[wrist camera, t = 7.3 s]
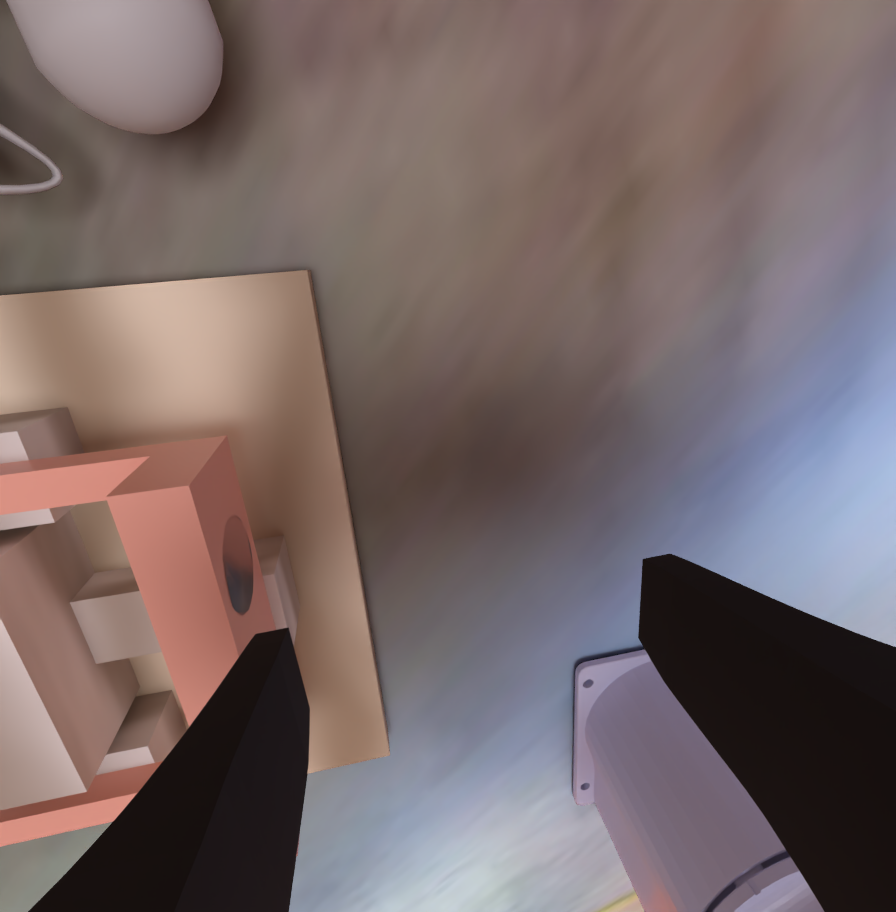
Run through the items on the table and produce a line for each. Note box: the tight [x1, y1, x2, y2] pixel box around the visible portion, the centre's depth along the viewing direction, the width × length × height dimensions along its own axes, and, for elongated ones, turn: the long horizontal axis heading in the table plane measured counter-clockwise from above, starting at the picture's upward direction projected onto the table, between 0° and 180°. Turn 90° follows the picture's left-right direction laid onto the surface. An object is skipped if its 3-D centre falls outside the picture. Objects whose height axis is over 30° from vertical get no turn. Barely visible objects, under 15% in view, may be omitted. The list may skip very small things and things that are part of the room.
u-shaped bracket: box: [0, 435, 300, 856], centre depth 13 cm, size 10×12×3 cm
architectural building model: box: [0, 270, 390, 810], centre depth 16 cm, size 16×20×5 cm
